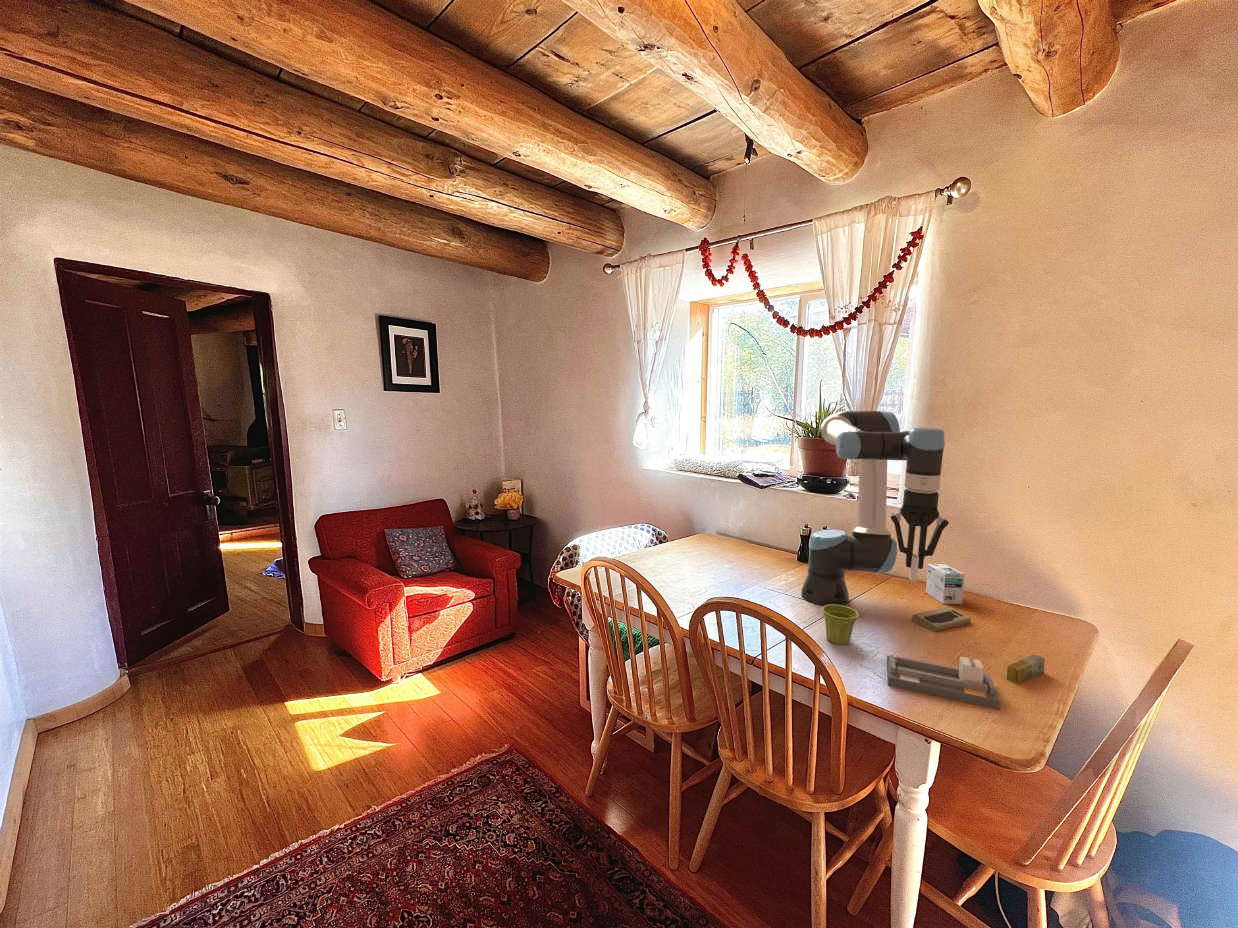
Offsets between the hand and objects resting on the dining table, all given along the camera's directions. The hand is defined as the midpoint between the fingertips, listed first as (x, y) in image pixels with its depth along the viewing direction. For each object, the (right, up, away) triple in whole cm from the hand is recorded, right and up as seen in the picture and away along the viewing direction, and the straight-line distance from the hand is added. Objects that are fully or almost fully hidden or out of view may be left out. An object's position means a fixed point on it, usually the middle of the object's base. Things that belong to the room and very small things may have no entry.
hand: (912, 579), depth 132 cm
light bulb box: (+37, -17, +46) cm, 61 cm away
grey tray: (+2, -23, -8) cm, 25 cm away
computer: (+24, -20, +27) cm, 41 cm away
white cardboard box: (+7, -22, -11) cm, 25 cm away
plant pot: (-13, -21, +14) cm, 28 cm away
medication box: (+26, -24, -4) cm, 35 cm away
